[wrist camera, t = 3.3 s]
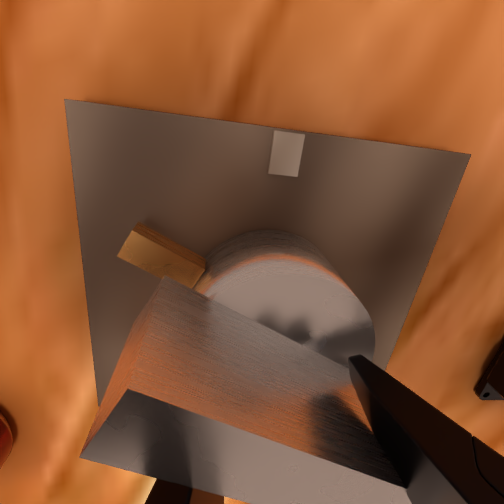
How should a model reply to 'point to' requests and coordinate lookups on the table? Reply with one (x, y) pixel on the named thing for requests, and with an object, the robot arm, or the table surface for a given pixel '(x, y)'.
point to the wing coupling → (244, 376)
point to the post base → (250, 207)
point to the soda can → (5, 440)
